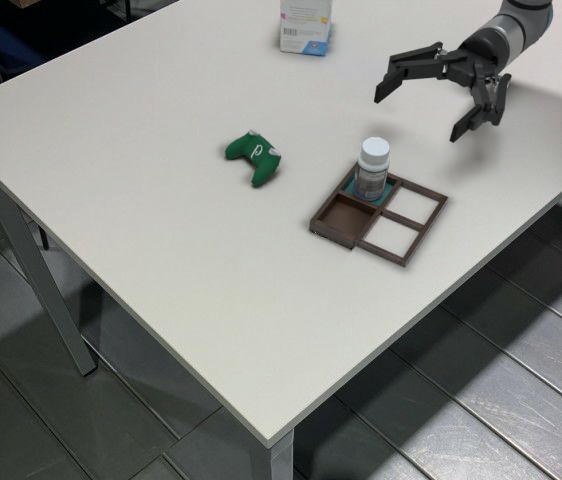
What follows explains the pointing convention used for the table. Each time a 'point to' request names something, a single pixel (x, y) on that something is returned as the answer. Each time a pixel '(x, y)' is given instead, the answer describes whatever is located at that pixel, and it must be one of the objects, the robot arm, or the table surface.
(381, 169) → the pill bottle
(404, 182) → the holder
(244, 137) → the gaming controller
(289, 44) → the ink box
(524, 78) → the table surface
